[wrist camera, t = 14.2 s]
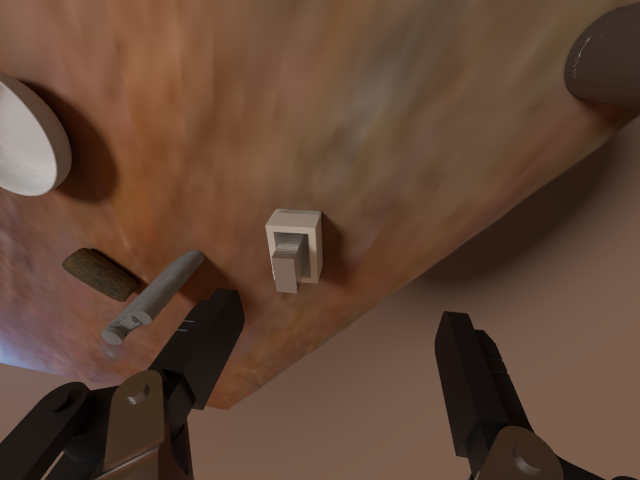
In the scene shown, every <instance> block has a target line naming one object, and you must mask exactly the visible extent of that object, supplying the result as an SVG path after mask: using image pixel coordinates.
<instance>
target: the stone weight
mask: <svg viewBox="0 0 640 480" xmlns="http://www.w3.org/2000/svg"><path fill="white" fill-rule="evenodd" d="M62 266H63V268H64V269H65V270H66V271H67V272H69V273H70V274H71V275H73V276H74V277H76V278H78V279H79V280H81V281H82V282H84V283H86V284H87V285H89V286H90V287H92V288H94V289H96V290H97V291H99V292H101V293H103V294H105V295H106V296H108V297H110V298H112V299H114V300H117V301H120V302H124V301H125V300H126V299H127V298H128V297H129V296H130V295H131V294H132V293H133V292H134V291H135V290H136V289H137V288H138V287H139V284H137V283H136V281H135V280H134V279H133V278H132V277H131V276H129V275H128V274H127V273H125V272H124V271H123V270H121V269H120V268H118V267H117V266H115V265H114V264H112V263H111V262H109V261H108V260H107V259H105V258H103V257H102V256H100V255H98V254H97V253H95V252H93V251H91V250H89V249H87V248H81V249H79V250H77V251H76V252H74V253H73V254H71V255H70V256H69V257H68V258H67V259H65V261H64V262H63V263H62Z"/></svg>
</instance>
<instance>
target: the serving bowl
mask: <svg viewBox="0 0 640 480" xmlns="http://www.w3.org/2000/svg"><path fill="white" fill-rule="evenodd" d="M71 162H72V153H71V147H70V143H69V140H68V137H67V134H66V132H65V130H64V128H63V126H62V124H61V123H60V121H59V120H58V118H57V117H56V115H55V114H54V113H53V111H52V110H51V109H50V107H49V106H48V105H47V104H46V103H45V102H44V101H43V100H42V99H41V98H40V97H39V96H38V95H37V94H36V93H34V92H33V91H32V90H31V89H30V88H28V87H27V86H26V85H24V84H23V83H21V82H20V81H18V80H17V79H15V78H13V77H12V76H10V75H8V74H6V73H4V72H2V71H0V187H2V188H4V189H7V190H9V191H11V192H14V193H17V194H21V195H26V196H40V195H43V194H46V193H48V192H50V191H51V190H53V189H55V188H56V187H57V186H59V185H60V184H61V183H62V182H63V181H64V180H65V178H66V177H67V175H68V173H69V171H70V168H71Z"/></svg>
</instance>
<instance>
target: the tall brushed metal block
mask: <svg viewBox="0 0 640 480" xmlns="http://www.w3.org/2000/svg"><path fill="white" fill-rule="evenodd" d="M271 259H272V265H273V271H274V276H275V282H276V288H277V292H288V293H298V290H299V287H300V284H301V281H302V278H303V275H304V272H305V269H306V266H307V263H308V260H309V246H308V234H302V233H286V232H285V233H284V235H283V236H282V238H281V240H280V242H279V244H278V246H277V248H276V250H275V252H274V254H273V256H272V257H271Z"/></svg>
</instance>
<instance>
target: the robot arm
mask: <svg viewBox="0 0 640 480" xmlns="http://www.w3.org/2000/svg"><path fill="white" fill-rule="evenodd" d="M564 77H565V83H566V85H567V87H568V89H569V91H570V92H571V93H572V94H573V95H575V96H577V97H579V98H581V99H586V100H591V101H596V102H601V103H606V104H611V105H616V106H621V107H627V108H632V109H637V110H640V3H635V4H631V5H627V6H623V7H619V8H617V9H615V10H613V11H610V12H608V13H607V14H605V15H604V16H602V17H600V18H599V19H597V20H596V21H595V22H594V23H593V24H592V25H590V26H589V27H588V28H587V29H586V30H585V31H584V32H583V34H582V35H581V36H580V37H579V38H578V40H577V41H576V43H575V44H574V46H573V47H572V49H571V51H570V53H569V55H568V57H567V61H566V64H565V71H564ZM244 320H245V317H244V312H243V308H242V304H241V300H240V297H239V293H238V291H237V290H232V289H221V288H218V289H217V290H215V292H214V293H213V295H212V296H211V297H210V299H209V300H203V301H202V302H200V303H199V304H198V305H197V306H195V307H194V308H193V309H192V310H191V311H190V313H189V314H188V315H187V317H186V318H185V319H184V322H182V323H181V325H180V326H179V328H178V330H177V331H176V332H175V333H174V334H173V336H172V337H171V338H170V340H169V341H168V343H167V344H166V345H165V347H164V348H163V349H162V351H161V352H160V353H159V355H158V356H157V358H156V359H155V360H154V362H153V363H152V364H151V366H150V367H149V368H148V369H147V370H144V371H140V372H138V373H136V374H134V375H132V376H130V377H129V378H127V379H126V380H125V381H124V382H123V383H122V384H121V385H119V386H113V387H108V388H103V389H97V390H91V391H90V390H89V388H88V387H87V386H86V385H85V384H84V383H82V382H71V383H68V384H64V385H62V386H60V387H58V388H56V389H54V390H53V391H51V392H50V393H48V394H47V395H46V396H45V397H43V399H41V400H40V401H39V402H38V403H37V405H36V406H35V407H34V408H33V409H32V410H31V411H30V412H29V413H28V414H27V415H26V416H25V417H24V419H23V420H22V421H21V422H20V423H19V424H18V425H17V426H16V427H15V428H14V429H13V430H12V432H11V433H10V434H9V435H8V436H7V437H6V438H5V439H4V440H3V441H2V442H1V443H0V480H40V479H41V478H42V477H43V475H44V474H45V473H46V471H47V470H48V469H49V467H50V466H51V465H52V463H53V462H54V461H55V459H56V458H57V457H58V455H59V454H60V453H61V451H63V452H64V454H63V455H62V457H61V458H60V459H59V461H58V462H57V464H56V465H55V466H54V467H53V469H52V470H51V471H50V473H49V474H48V476H47V477H46V478H45V480H194V476H193V467H192V458H191V450H190V440H189V430H188V422H187V416H188V414H189V413H190V411H191V409H198V410H203V409H204V407H205V405H206V403H207V401H208V399H209V397H210V395H211V393H212V391H213V389H214V387H215V384H216V382H217V380H218V378H219V376H220V374H221V372H222V370H223V368H224V366H225V364H226V362H227V360H228V358H229V356H230V354H231V352H232V350H233V348H234V346H235V344H236V342H237V340H238V338H239V336H240V334H241V332H242V329H243V326H244ZM435 355H436V360H437V365H438V370H439V375H440V380H441V385H442V390H443V394H444V399H445V404H446V409H447V414H448V419H449V424H450V428H451V433H452V438H453V443H454V448H455V453H456V456H460V457H466V458H468V460H469V464H470V468H471V473H470V475H469V477H468V479H467V480H605V479H603V478H601V477H599V476H597V475H594V474H592V473H590V472H588V471H586V470H584V469H582V468H579V467H577V466H575V465H573V464H571V463H569V462H567V461H565V460H563V459H562V458H560V457H559V456H557V455H556V454H555V453H554V452H553V450H552V449H551V448H550V447H549V446H548V445H547V443H546V442H545V441H543V440H542V439H541V438H540V437H539V436H537V435H536V434H535V433H534V431H533V429H532V428H531V426H530V424H529V421H528V419H527V417H526V414H525V412H524V409H523V407H522V405H521V402H520V400H519V398H518V395H517V393H516V391H515V389H514V386H513V384H512V381H511V379H510V377H509V375H508V374H507V370H506V367H505V365H504V362H502V358H501V355H500V353H499V351H498V348H497V346H496V344H495V343H494V342H493V340H492V339H491V338H490V337H489V336H488V335H487V334H486V333H485V331H484V330H475V329H474V328H473V325H472V322H471V320H470V317H469V315H468V314H467V313H457V312H447V311H444V312H443V315H442V318H441V321H440V324H439V328H438V331H437V334H436V338H435ZM612 480H637V479H635V478H631V477H627V476H618V477H616V478H613V479H612Z"/></svg>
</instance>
